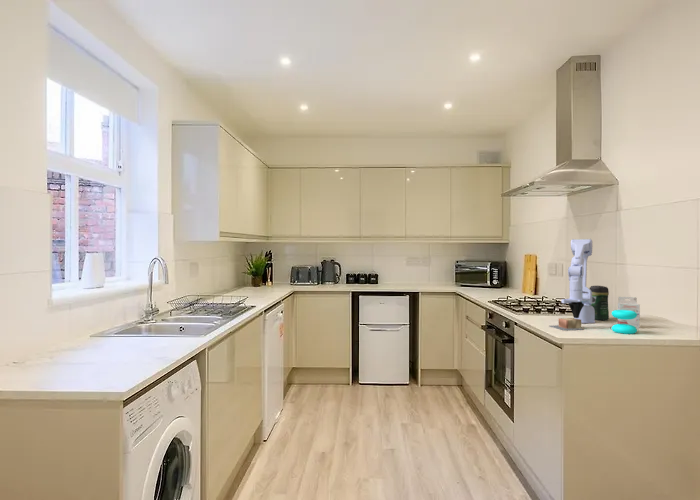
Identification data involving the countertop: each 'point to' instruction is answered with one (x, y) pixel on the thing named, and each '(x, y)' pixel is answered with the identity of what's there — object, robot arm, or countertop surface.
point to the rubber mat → (565, 328)
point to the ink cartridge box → (629, 306)
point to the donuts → (624, 327)
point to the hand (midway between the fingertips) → (576, 317)
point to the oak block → (569, 323)
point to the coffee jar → (600, 302)
